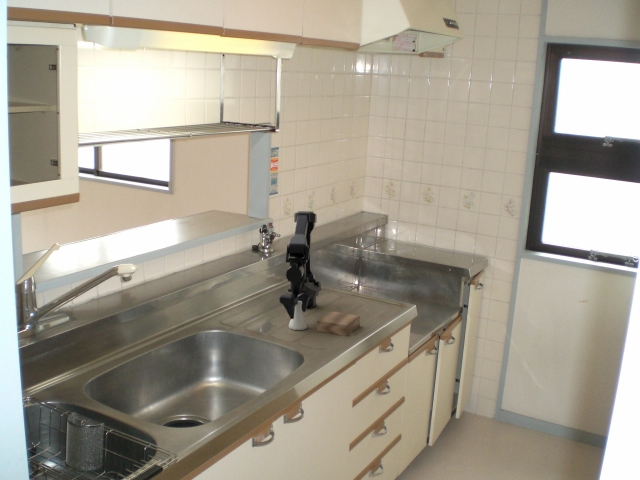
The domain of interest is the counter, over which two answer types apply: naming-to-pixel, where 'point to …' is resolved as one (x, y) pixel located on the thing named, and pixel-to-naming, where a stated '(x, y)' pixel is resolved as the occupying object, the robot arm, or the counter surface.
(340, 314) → the walnut block
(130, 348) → the counter surface
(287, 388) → the counter surface
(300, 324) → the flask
